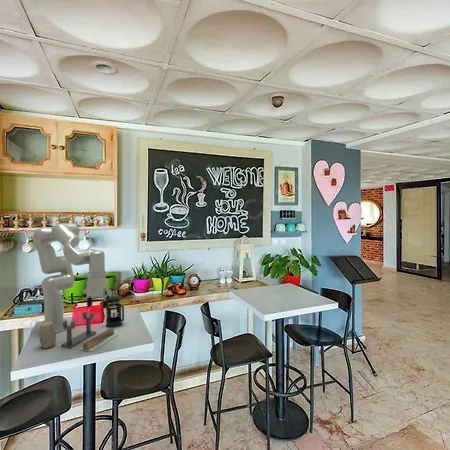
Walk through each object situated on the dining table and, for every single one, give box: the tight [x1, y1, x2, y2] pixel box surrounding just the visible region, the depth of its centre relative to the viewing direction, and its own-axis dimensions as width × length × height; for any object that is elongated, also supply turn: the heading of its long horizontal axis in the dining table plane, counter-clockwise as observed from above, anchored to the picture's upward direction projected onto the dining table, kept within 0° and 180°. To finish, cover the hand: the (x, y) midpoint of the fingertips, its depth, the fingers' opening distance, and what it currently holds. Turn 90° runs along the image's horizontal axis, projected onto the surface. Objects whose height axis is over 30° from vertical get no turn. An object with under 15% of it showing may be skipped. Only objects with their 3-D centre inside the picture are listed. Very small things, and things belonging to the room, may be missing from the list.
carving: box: [38, 322, 57, 349], centre depth 150 cm, size 6×8×12 cm
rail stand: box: [60, 311, 97, 349], centre depth 157 cm, size 6×19×12 cm, turn 165°
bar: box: [82, 328, 115, 350], centre depth 154 cm, size 3×20×3 cm, turn 165°
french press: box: [105, 286, 125, 329], centre depth 178 cm, size 12×9×23 cm
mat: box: [78, 333, 119, 353], centre depth 154 cm, size 8×20×1 cm, turn 165°
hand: (97, 307), depth 154 cm, fingers open, 9 cm apart
